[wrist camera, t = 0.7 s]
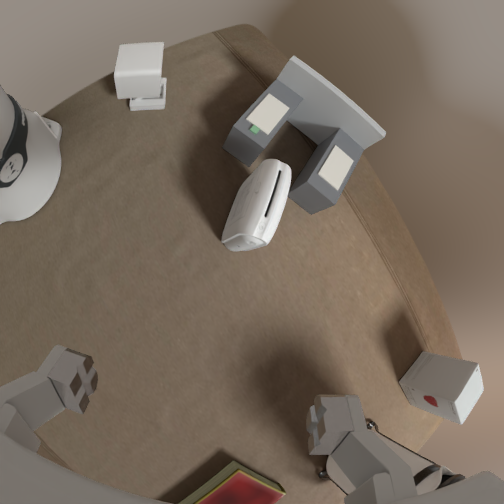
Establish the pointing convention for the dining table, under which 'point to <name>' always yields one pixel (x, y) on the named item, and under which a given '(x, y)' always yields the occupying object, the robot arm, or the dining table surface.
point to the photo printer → (258, 207)
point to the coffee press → (422, 469)
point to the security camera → (141, 75)
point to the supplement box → (443, 386)
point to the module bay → (308, 132)
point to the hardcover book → (236, 488)
